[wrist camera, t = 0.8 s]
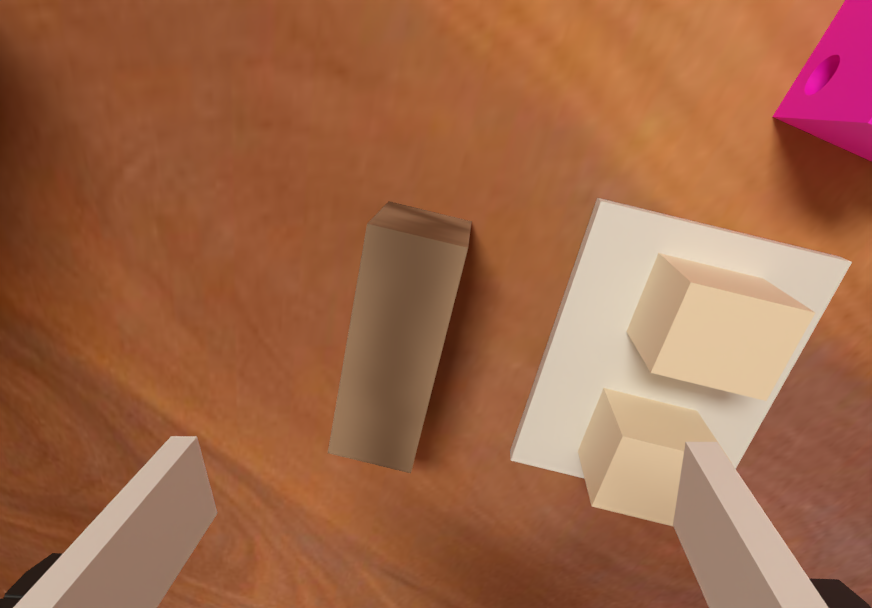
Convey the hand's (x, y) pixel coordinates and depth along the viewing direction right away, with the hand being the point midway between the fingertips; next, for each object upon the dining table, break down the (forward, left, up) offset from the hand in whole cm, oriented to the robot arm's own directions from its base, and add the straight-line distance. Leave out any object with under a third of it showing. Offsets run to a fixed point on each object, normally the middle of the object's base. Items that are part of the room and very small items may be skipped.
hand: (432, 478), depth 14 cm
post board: (+13, -3, -19) cm, 23 cm away
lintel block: (-3, -4, -19) cm, 20 cm away
